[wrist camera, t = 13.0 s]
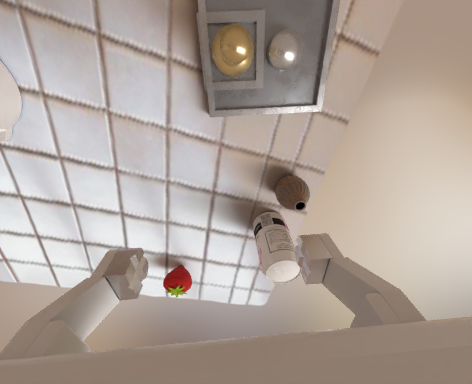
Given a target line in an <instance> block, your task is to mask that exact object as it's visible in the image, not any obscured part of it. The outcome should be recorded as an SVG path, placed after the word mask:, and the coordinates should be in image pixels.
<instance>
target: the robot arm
mask: <svg viewBox="0 0 472 384" xmlns="http://www.w3.org/2000/svg"><path fill="white" fill-rule="evenodd" d="M21 110H22V100H21V95H20V92H19V89H18V86H17V84H16V82H15V80H14V78H13V77H12V75H11V74H10V72H9V71H8V69H7V68H6V67H5V65H4V64H3V63H2V62H1V61H0V141H8V140H10V139H11V137H12V127H13V125H14V123H15V122H16V121H17V120H18V118H19V116H20V114H21ZM296 242H297V244H298V245H297V246H296V247H295V258H296V262H297V264H298V266H300V267H301V268H302V269H301V274H302V276H303V279H304V281H305V284H319V283H323V285H324V286H325V287H326V288H327V289H328V290H329V291H330V292H331V293H333V294H334V295H335V296H336V297H337V298H338V299H339V300H340V301H341V302H342V303H343V304H344V305H345V306H347V307H348V308H349V309H350V310H351V311H352V312H353V313H354V314H355V315H356V316H355V318H354V320H353V322H352V323H351V326H350V327H351V328H344V329H334V330H323V331H312V332H301V333H290V334H280V335H268V336H258V337H246V338H235V339H224V340H213V341H203V342H192V343H181V344H171V345H160V346H149V347H138V348H128V349H116V350H105V351H95V352H90V347H89V346H88V345H87V344H86V343H85V342H84V339H85V338H86V337H87V336H88V335H89V334H90V333H91V332H92V331H93V330H94V329H95V328H96V327H97V325H98V324H99V323H100V322H101V321H102V320H103V319H104V318H105V317H106V316H107V315H108V314H109V313H110V311H111V310H112V309H113V308H114V307H115V306H116V305H117V304H118V303H119V302H120V301H119V300H128V299H136V298H138V296H139V293H140V291H141V288H142V286H143V285H142V283H141V281H142V280H143V279H145V278H146V275H147V272H148V262H147V259H146V258H144V257H143V254H144V252H143V250H142V248H130V249H114V250H109V251H108V252H107V253H106V254H105V256H104V257H103V259H102V260H101V262H100V263H99V265H98V266H97V268H96V269H95V271H94V272H93V274H92V275H91V277H90V278H86V279H85V280H83V281H82V282H81V283H79V284H78V285H77V286H75V287H74V288H72V289H71V290H70V291H69V292H67V293H65V294H64V295H63V296H61V297H60V298H58V299H57V300H56V301H54V302H53V303H51V304H50V305H49V306H47V307H46V308H45V309H43V310H42V311H40V312H39V313H38V314H36V315H35V316H33V317H32V318H31V319H29V320H28V321H27V322H25V324H24V325H23V326H22V327H21V329H20V330H19V331H18V332H17V333H16V334H15V336H14V337H13V338H12V339H11V341H10V342H9V343H8V344H7V346H6V347H5V348H4V349H3V351H2V352H1V353H0V384H472V317H463V318H452V319H443V320H442V319H441V320H431V321H426V319H425V318H424V317H423V316H422V315H421V314H420V313H419V311H418V310H417V309H416V308H415V306H414V305H413V304H412V303H411V302H410V300H409V299H408V298H407V297H406V296H405V295H404V294H403V292H402V291H401V290H400V289H398V288H396V287H395V286H393V285H392V284H390V283H388V282H387V281H385V280H383V279H382V278H380V277H378V276H377V275H375V274H373V273H372V272H370V271H369V270H367V269H365V268H364V267H362V266H360V265H359V264H357V263H355V262H354V261H352V260H350V259H349V258H344V257H343V255H342V254H341V252H340V251H339V249H338V248H337V247H336V245H335V244H334V242H333V241H332V239H331V238H330V236H329V235H328V234H326V233H325V234H313V235H301V236H298V237H297V240H296Z"/></svg>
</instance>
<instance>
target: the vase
mask: <svg viewBox="0 0 472 384" xmlns="http://www.w3.org/2000/svg"><path fill="white" fill-rule="evenodd" d="M275 194H276V198H277V200H278V202H279V203H280V204H281V205H282V206H283V207H285V208H287V209H290V210H296V211H302V210H303V209H305V207H306V204H307V202H308V200H309V197H310V192H309V188H308V186H307V184H306V183H305V182H304V181H303V180H302V179H301V178H299V177H297V176H293V175H289V176H285V177H283V178H282V179H280V180H279V181H278V183H277V185H276V188H275Z"/></svg>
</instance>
